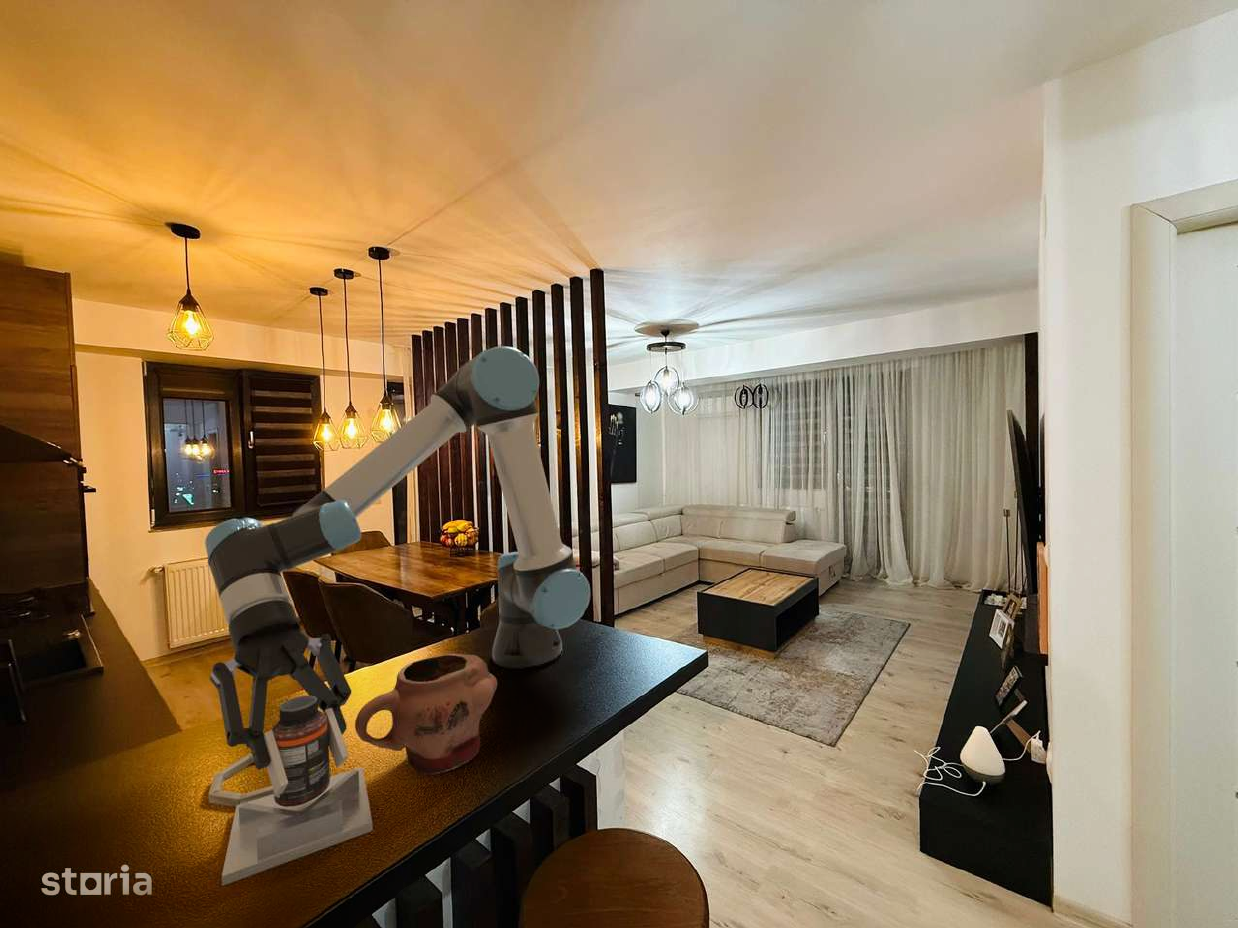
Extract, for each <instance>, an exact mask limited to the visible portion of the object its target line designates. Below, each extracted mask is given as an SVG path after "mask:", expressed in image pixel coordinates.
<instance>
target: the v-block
mask: <svg viewBox="0 0 1238 928" xmlns="http://www.w3.org/2000/svg"><path fill="white" fill-rule="evenodd" d="M365 779H366V778H365V775H364V769H363V766H360V767H358V768H357V767H356V768H353V769H350V770H348V771H345V772H341V773H337V774H334V775H330V783H329V786H328V787H327V789H326V790H325V791H324V792H323V793H322V794H321V795H319V796H318V797H317V798H315V799H313V800H311V801H309V802H307V803H304V804H302V805H298V806H289V807H284V806H280V805H278V804H277V803H276V802H275V800H274V794H272V795H269V796H265V797H262V798H259V799H256V800H252V801H249V802H246V803H243V804H239V805H237V806H236V807H235V812H234V815H233V822H232V827H231V830H230V836H229V841H228V846H227V850H226V854H225V858H224V859H225V860H224V864H223V869H222V873H221V887H223V886H226V885H229V884H231V883H234V882H236V881H240V880H242V879H245V878H248V877H250V876H254V875H257V874H259V873H262V872H264V871H267V870H270V869H272V868H275V867H278V866H280V865H283V864H286V863H288V862H291V861H293V860H296V859H300V858H302V857H305V856H308V855H310V854H313V853H315V852H318V851H321V850H324V849H327V848H330V847H332V846H334V845H338V844H340V843H343V842H345V841H348V840H350V839H353V838H356V837H359V836H361V835H364V834H367V833H369V832H370V833H371V832H372V831H374V829H373V827H374V825H373V819H372V818H373V817H372V812H371V807H370V801H369V796H368V791H367V786H366V780H365Z"/></svg>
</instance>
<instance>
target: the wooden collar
mask: <svg viewBox="0 0 1238 928" xmlns="http://www.w3.org/2000/svg"><path fill="white" fill-rule="evenodd" d="M252 764H255V763H254V760H253V756H252V753H249V754H247V755H245V756H243V757H242V758H241V759H238V760H237V761H235V762H233V763H232V764H230V765H229V766H227V767H225V768H223V769H222V770H221V771H219V772H217V773H215V774H214V775H213V778H212V781H211V785H210V788H209V792H208V803H209V804H216V805H221V806H228V807H233V806H234V808H236V806H237V805H239V804H243V803H246V802H249V801H252V800H256V799H259V798H262V797H265V796H269V795H272V794H274V791H273V787H272V785H269V786H267V787H264V788H260V789H257V790H253V791H250V792H246V793H239V792H238V793H237V792H232V791H225V790H222V787H223V783H224V781H226V780H228V779H229V778H231V777H233V776H234V775H236V774H238V773H239V772H241V771H242V770H244V769H245V768H247V767H248V766H250V765H252Z"/></svg>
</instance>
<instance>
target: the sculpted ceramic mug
mask: <svg viewBox="0 0 1238 928" xmlns="http://www.w3.org/2000/svg"><path fill="white" fill-rule="evenodd" d="M497 686H498V681H497V678H496V677H495V675H493V674H492V673H490V671H489V668H488V664H487V663H486V662H485V661H484V659H482V658H480V657H479V656H478V655H476V654H475V655H474V654H460V653H448V654H447V653H446V654H443V655H437V656H432V657H426V658H423V659H419V660H415V661H413V662H411V663H408V664H407V665H404V666H403V667H402V668H400V671H399V672H398V673H397V675H396V682H395V685H394V687H393V690H391V691H389V692H386V693H382V694H380V695H377V696H376V697H374V698H372V699H371V700H369V701H368V702H367V703H366V704H364V705H363V706H362V707H361V709H360V710H359V712H358V713H357V716H356V719H355V721H354V730H355V732H356V734H357V736H358V737H359V739H360V740H361V741H362V742H365V743H367V744H370V745H372V746H375V747H378V748H381V749H386V750H390V751H391V750H392V751H395V752H401V751H403V749H405V752H406V757H407V763H408V765H409V767H410V768H411V769H412V770H414V771H415V772H417V773H418V774H421V775H437V774H441V773H445V772H448V771H451V770H454V769H456V768H459V767H461V766H462V765H464V764H465V763H468V762H469V761H471V760H473V759H474V757H476V756H477V754H478V753H479V750H480V749H481V748H480V747H481V741H480V739H481V738H480V728H479V727H480V721H481V719H482V716H483V715H484V713H485V712H486V710H487V709H488V708H489V706H490V704H491V702H492V699H493V696H494V694H495V692H496V690H497V688H498V687H497ZM382 711H388V712H389V713H391V720H392V721H391V723H392V724H391V728H390V730H389V731H388V732H387V734H386V735H384V736H383V737H380V738H379V737H378V738H376V737H373V736H371V734H369V732H368V731H367V730H368V729H367V728H368V727H367V726H368V723H369V722H370V720H371V718H373V716H374V715H375V714H378V712H382Z"/></svg>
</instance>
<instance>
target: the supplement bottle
mask: <svg viewBox="0 0 1238 928" xmlns="http://www.w3.org/2000/svg"><path fill="white" fill-rule="evenodd" d="M278 709H279V716H278V717H279V720H278V722H276V723H275V724H274V726H273V727H272V729H271V730H272V731H273V734H274V738H275V741H276V744H277V747H278V751H279V754H280V757H281V761H282V764H283V767H284V770H285V774H286V777H287V780H288V784H287V786H286V788H285V790H284V792H283V793H282V794H280V795H278V796H276V797H275V794H274V800H275V802H276V803H277V804H278V805H280V806H284V807H289V806H298V805H302V804H304V803H307V802H309V801H311V800H313V799H315V798H317V797H318V796H319V795H321V794H322V793H323V792H324V791H325V790H326V789H327V787H328V786H329V783H330V777H331V767H330V748H329V743H328V722H327V717H326V715H325V714H324V712H323V711H322V710H321V711H320V710H319V707H318V700H317V697H315V696H309V695H301V696H295V697H293V698H291V699H288V700H286V701H284V702H283V703H282V704H281V705H280V706H279V708H278Z"/></svg>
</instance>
